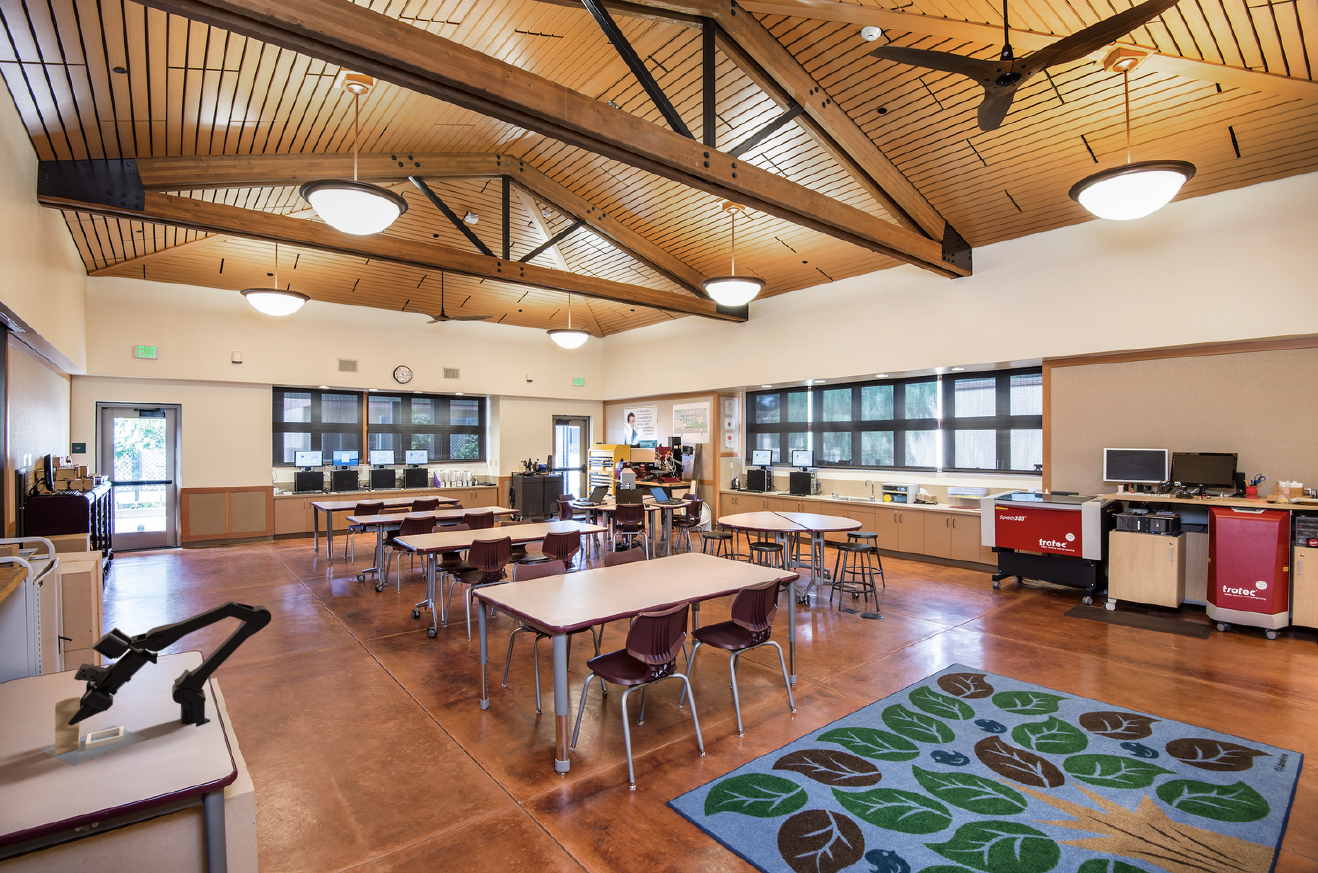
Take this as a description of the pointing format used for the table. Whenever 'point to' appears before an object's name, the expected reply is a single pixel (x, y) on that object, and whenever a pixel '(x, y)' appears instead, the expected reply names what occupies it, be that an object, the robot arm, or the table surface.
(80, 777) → the table surface
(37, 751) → the table surface
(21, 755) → the table surface
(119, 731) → the socket frame
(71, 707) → the maple pillar
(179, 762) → the table surface
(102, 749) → the base board
